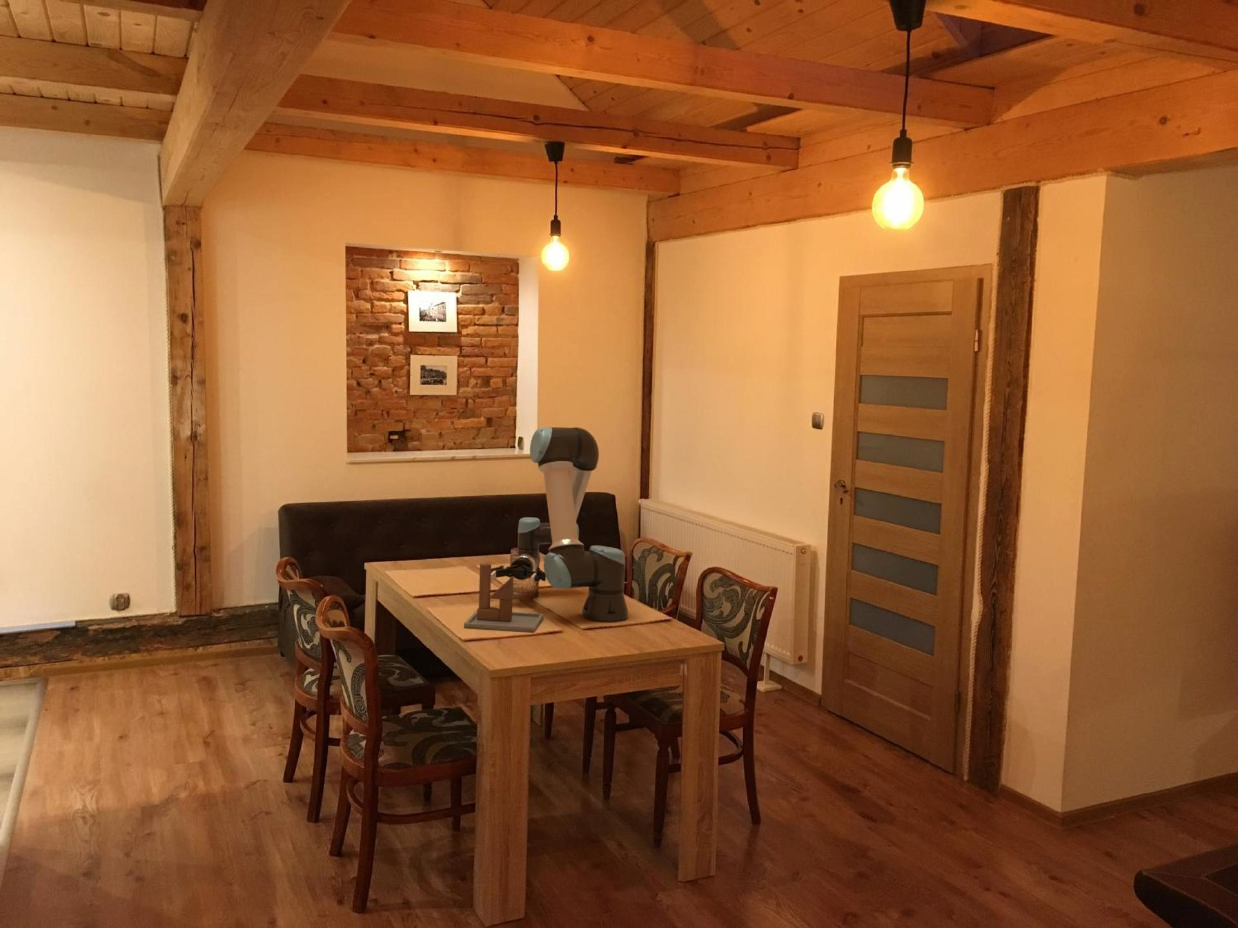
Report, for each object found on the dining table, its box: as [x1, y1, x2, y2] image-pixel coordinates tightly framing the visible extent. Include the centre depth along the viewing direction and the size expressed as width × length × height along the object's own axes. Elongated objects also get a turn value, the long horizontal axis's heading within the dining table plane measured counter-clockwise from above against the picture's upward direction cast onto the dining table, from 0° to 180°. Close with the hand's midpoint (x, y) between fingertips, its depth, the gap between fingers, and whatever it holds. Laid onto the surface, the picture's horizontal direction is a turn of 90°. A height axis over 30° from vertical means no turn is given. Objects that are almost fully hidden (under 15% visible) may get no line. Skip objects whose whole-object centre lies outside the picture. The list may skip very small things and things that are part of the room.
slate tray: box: [463, 609, 544, 633], centre depth 338 cm, size 22×18×2 cm
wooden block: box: [476, 562, 514, 622], centre depth 338 cm, size 4×11×18 cm, turn 84°
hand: (511, 580), depth 346 cm, fingers open, 13 cm apart
